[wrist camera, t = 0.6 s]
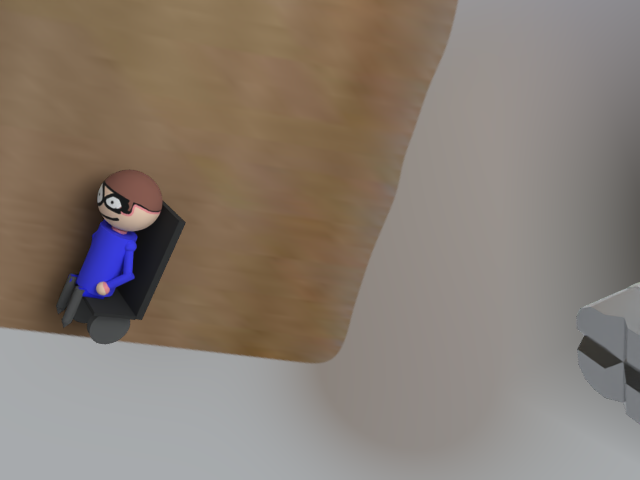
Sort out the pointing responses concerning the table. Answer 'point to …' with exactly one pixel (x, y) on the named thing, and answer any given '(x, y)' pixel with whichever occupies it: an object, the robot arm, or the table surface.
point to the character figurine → (122, 257)
